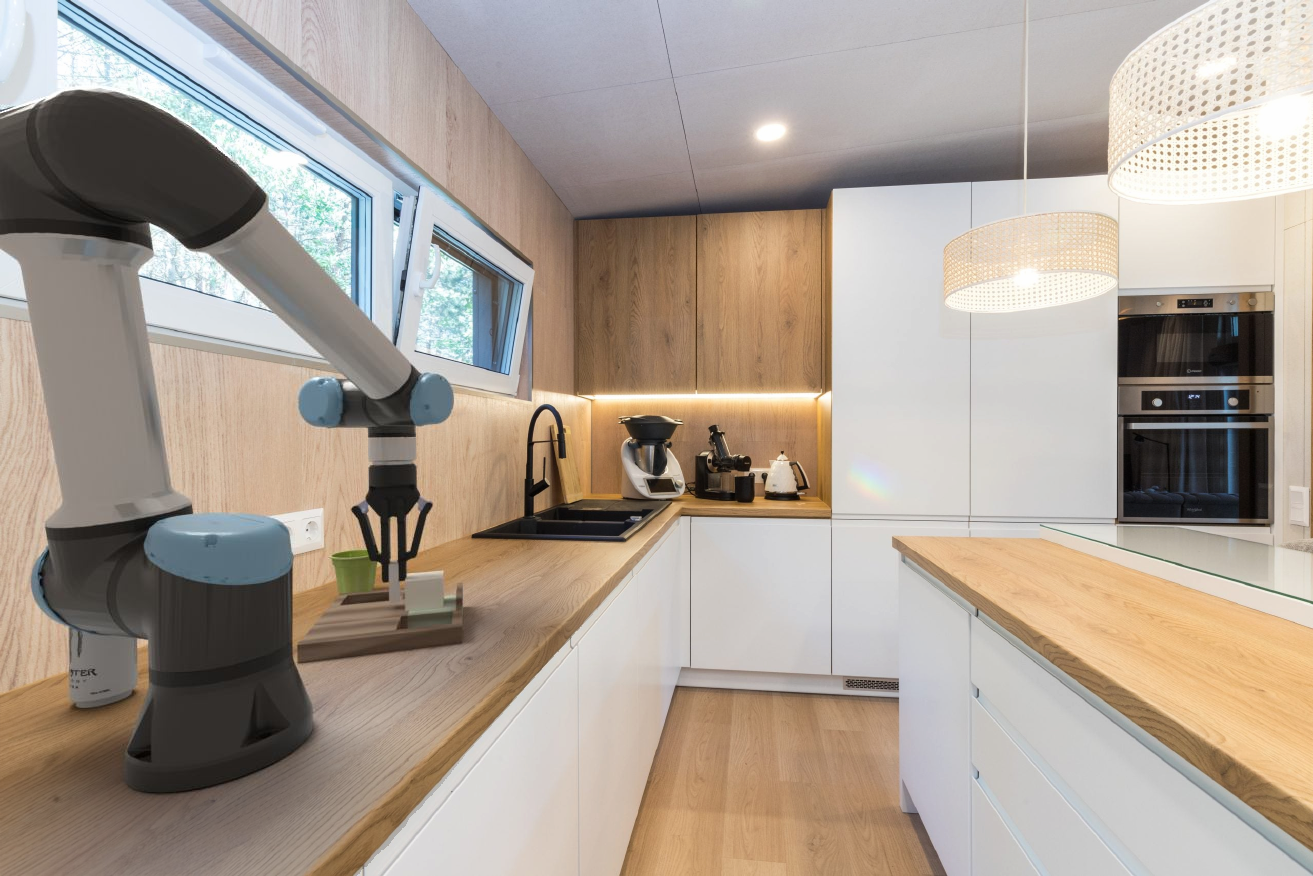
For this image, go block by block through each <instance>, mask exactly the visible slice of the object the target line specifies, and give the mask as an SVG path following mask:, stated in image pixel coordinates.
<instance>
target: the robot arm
mask: <svg viewBox="0 0 1313 876" xmlns="http://www.w3.org/2000/svg"><path fill="white" fill-rule="evenodd" d="M269 203H270V199H269V196H268V194H267V193H266V192H265V190H263V189H262V187H261V186H260V185H259V184H258V182H256V181H255V180H254V179H253V177H251V176H250V174H249V173H248V172H246V170H244V169H243V167H241V166H240V164H238V163H237V162H236V160H234V159H233V157H232V156H231V155H230V154H228V153H227V152H226V151H225V150H223V149H222V148H221V147H220V146H219V145H218V144H216V143H215V142H214V141H213V140H211V139H210V138H209V137H208V136H207V135H205V134H204V133H203V132H202V131H200V130H199V129H197V128H196V127H195V126H194V125H191V124H190V123H189V122H187V121H186V120H184V119H183V118H181V117H180V116H178V115H177V114H175V113H173V111H172V112H171V111H170V110H168V109H167V108H165V107H163V106H161V105H160V104H157V103H156V102H153V101H152V100H149V99H147V98H144V97H143V96H141V95H137V94H134V93H131V92H129V91H125V90H122V89H118V88H114V87H109V86H102V85H80V86H74V87H67V88H65V89H62V90H59V91H56V92H54V93H52V94H51V95H50V94H49V95H47V96H45V97H42V98H38V99H35V100H33V101H29V102H26V103H24V104H21V105H17V106H10V107H9V106H8V107H7V106H6V107H4V108H1V109H0V250H2V251H3V252H4V253H6V254H7V255H8V256H10V257H11V258H13V259H14V260H16V261H17V262H18V264H19V266H20V270H21V275H22V280H23V286H24V291H25V293H24V294H25V297H26V303H27V308H28V314H29V320H30V321H29V322H30V326H31V330H32V331H31V332H32V337H33V341H34V348H35V353H36V354H35V355H36V360H37V364H38V371H39V375H40V382H41V387H42V394H43V398H44V403H45V409H46V415H47V419H48V420H47V421H48V426H49V431H50V438H51V444H52V448H53V449H52V450H53V453H54V459H55V465H56V471H57V477H58V483H59V486H60V487H59V488H60V494H61V498H62V501H61V505H60V506H59V507H58V508H57V509H56V510H55V511H54V512H53V513H51V515H50V516H48V518H46V520H45V521H44V528H45V534H46V535H45V536H46V540H47V545H46V546H45V549H44V550H43V552H42V553H41V555H40V556H38V557H37V558H36V560H35V562H34V564H33V568H32V570H31V571H32V572H31V576H30V590H31V593H32V596H33V599H34V600H35V601H34V602H35V603H36V605H37V606H38V608H39V609H40V610H41V612H43V613H44V614H45V615H46V616H47V617H48V618H50V619H51V620H53V621H54V622H55V623H58V624H60V625H62V626H64V627H67V628H68V627H70V628H72V629H74V630H77V631H83V632H87V633H88V634H93V635H106V636H110V635H115V636H123V637H130V638H137V640H138V639H140V640H145V641H146V640H147V642H148V643H147V647H148V648H147V650H148V652H147V654H148V690H147V693H146V696H145V698H144V701H143V703H142V706H141V709H140V711H139V714H138V717H137V720H136V721H135V722H136V723H135V725H134V727H133V730H132V733H131V736H130V738H129V741H128V744H127V746H126V749H125V753H124V761H123V762H124V781H125V783H126V785H128V786H129V787H130V788H132V789H134V790H137V791H141V792H147V793H148V792H149V793H173V792H176V793H177V792H183V791H189V790H196V789H200V788H205V787H209V786H213V785H217V784H222V783H224V782H228V781H231V780H234V779H238V778H240V777H243V776H246V775H248V774H252V773H254V772H256V771H258V770H261V769H263V768H265V767H267V766H269V765H271V764H273V763H276V762H278V761H280V760H281V759H282V758H284V757H286V756H288V755H289V754H291V753H293V752H294V751H295V750H296V749H298V748H300V747H301V746H302V744H303V743H305V742H306V741H307V740H308V739H309V737H310V735H311V734H312V732H313V729H314V708H313V704H312V700H311V698H310V696H309V693H308V691H307V689H306V687H305V684H304V682H303V679H302V676H301V674H300V672H299V669H298V667H297V665H296V662H295V660H294V651H293V650H294V646H293V639H294V638H293V634H294V633H293V631H294V630H293V626H294V625H293V623H294V622H293V620H294V619H293V617H294V616H293V615H294V614H293V613H294V611H293V609H294V608H293V606H294V605H293V603H294V601H293V597H294V593H293V590H294V588H293V587H294V586H293V585H294V584H293V583H294V582H293V581H294V580H293V579H294V578H293V577H294V572H293V571H294V570H293V569H294V553H293V551H292V543H291V534H290V531H289V529H288V527H287V526H286V525H285V524H284V523H283V522H282V521H280V520H278V519H277V518H274V517H270V516H266V515H261V514H254V513H246V512H245V513H243V512H242V513H241V512H237V513H228V512H204V513H203V512H201V513H194V508H193V503H192V499H191V498H189V497H188V496H185V495H184V494H182V493H180V492H178V491H177V490H175V489H174V488H173V486H172V481H171V474H170V468H169V462H168V456H167V448H166V442H165V437H164V436H165V435H164V430H163V424H162V416H161V410H160V405H159V398H158V397H159V396H158V391H157V385H156V379H155V378H156V377H155V373H154V372H155V371H154V365H153V358H152V353H151V352H152V351H151V347H150V339H149V334H148V333H149V332H148V327H147V321H146V320H147V319H146V315H145V310H144V309H145V308H144V302H143V296H142V289H141V282H140V276H139V270H140V269H141V268H142V266H144V265H145V264H146V263H147V262H149V261H151V259H152V258H154V255H155V253H154V246H153V239H152V232H151V226H150V225H152V226H155V227H157V228H160V229H161V230H163V231H164V232H166V233H168V234H169V235H170V236H171V237H173V238H174V239H175V240H176V241H178V242H179V243H180V244H181V245H182V246H183V247H184V248H186V249H187V250H189V251H191V252H195V253H203V254H208V255H209V256H210V257H211V258H213V260H215V262H217V264H219V265H220V266H221V267H223V269H225V270H226V271H227V272H228V273H229V274H230V275H231V276H232V277H234V279H236V281H238V282H239V283H240V284H241V285H242V286H243V287H244V288H246V289H247V290H248V291H249V292H250V293H251V294H253V296H254V297H256V298H257V299H258V300H259V301H260V302H261V303H262V304H263V305H264V306H265V307H267V308H268V309H269V310H270V311H271V312H272V313H274V315H276V316H277V317H278V318H279V319H280V320H281V321H283V322H284V324H286V325H287V326H288V327H289V328H290V329H291V330H292V331H294V333H296V334H297V335H298V336H299V337H300V338H301V339H303V340H304V341H305V342H306V343H307V344H308V345H309V346H310V347H311V348H312V349H314V350H315V351H316V352H317V353H318V354H319V355H320V357H321V356H322V357H323V359H324V360H325V361H327V362H328V363H329V364H330V365H332V366H333V368H334V369H336V370H337V371H338V372H339V373H341V374H342V375H343V377H344V378H339V377H338V378H336V377H335V376H329V377H328V376H327V377H323V376H322V377H321V376H317V377H312V378H310V379H308V380H307V381H305V382H304V383H303V385H302V387H301V388H300V390H299V392H298V396H297V397H298V398H297V399H298V401H297V403H298V405H297V407H298V411H299V414H300V416H301V417H302V419H303V420H304V421H305V423H307V424H309V425H310V426H313V427H317V428H326V429H335V428H336V429H337V428H338V429H340V428H343V429H344V428H345V429H348V428H349V429H352V428H353V429H358V428H359V429H361V428H362V429H367V460H368V462H370V463H371V462H372V464H370V465H369V467H368V471H367V472H368V491H367V493H366V495H365V497H364V498H365V499H364V500H362V501H361V502H359V503H357V504H355V505H353V506H352V507H351V508H350V511H351V513H352V514H353V515H354V517H356V519H357V520H358V523H359V527H360V532H361V534H362V538H363V541H364V546H365V549H367V552H368V556H369V559H370V560H371V561H376V562H377V563H379V564H380V565H381V581H382V583H388V589H389V603H395V602H399V600H400V588H401V582H405V580H406V577H407V574H408V570H407V569H408V567H407V566H408V564H407V563H408V561H409V560H412V559H415V558H416V557H417V555H418V553H419V550H420V544H421V541H422V536H423V534H424V533H423V532H424V528H425V526H426V521H427V517H428V514H429V513H430V511H431V510H432V508H433V506H434V502H433V501H432V500H427V499H425V498H423V497H421V493H420V491H419V489H418V483H417V482H418V478H417V477H418V472H417V471H418V470H417V469H418V466H417V465H416V464H415V463H414V461H416V460H417V430H416V427H423V426H428V425H439V424H442V423H444V422H445V421H447V419H449V417H450V416H451V413H452V410H453V409H454V404H455V394H454V391H453V388H452V385H451V383H450V382H449V381H448V379H447V378H446V377H445V376H443V375H440V374H439V373H431V372H427V371H426V372H423V373H421V372H420V371H419V370H418V369H417V368H416V367H415V366H414V365H413V363H411V362H410V360H409V359H408V358H407V357H406V356H405V355H404V354H403V353H402V352H401V351H400V350H399V349H398V347H396V345H395V344H394V343H393V342H392V341H391V340H390V339H389V338H388V337H387V335H386V334H385V333H384V332H382V330H381V329H380V328H379V327H378V326H377V325H376V324H375V323H374V322H373V321H372V320H371V319H370V317H369V316H368V315H367V314H366V313H365V312H364V311H363V310H362V309H361V308H360V307H359V305H357V303H356V302H355V301H354V300H353V299H352V298H351V297H350V296H349V295H348V293H346V292H345V291H344V290H343V288H341V286H340V285H339V284H338V283H337V282H336V281H335V280H334V279H333V278H332V276H330V275H329V273H328V272H327V271H326V270H325V269H324V268H323V266H321V265H320V264H319V262H317V261H316V260H315V259H314V258H313V256H312V255H311V253H309V252H308V251H307V250H306V249H305V248H304V247H303V245H302V244H301V243H300V242H299V241H298V240H297V239H296V238H295V237H294V236H293V234H291V233H290V231H289V230H288V229H286V227H285V226H284V225H283V224H282V223H281V222H280V221H279V220H278V219H277V218H276V217H275V215H273V214H272V212H271V211H270V210H269ZM416 504H418V507H417V510H418V511H419V514H418V516H417V522H416V525H415V529H414V534H413V537H412V542H411V547H410V550H408V551H407V549H408V547H407V546H408V545H407V539H408V538H407V516H408V515H409V514H410V512H411V511H412V510H413V509H414V507H415V505H416ZM369 507H370V508H371V509H372V510H373V511H374V512H375V514H376V515H377V516H378V517H379V521H380V550H381V553H379V552H378V550H379V549H378V546H377V542H376V539H375V534H374V531H373V528H372V524H371V521H370V518H369V516H368V515H369V514H368V513H369V511H370V509H369ZM393 517H394V518H396V527H397V528H396V529H397V531H396V532H397V539H396V540H397V560H393V561H391V558H392V556H391V546H392V545H391V519H392V518H393Z"/></svg>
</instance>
